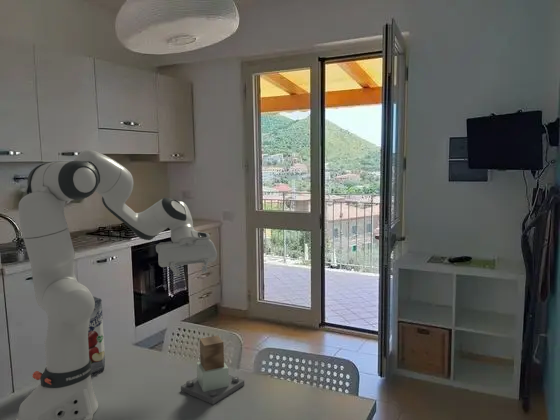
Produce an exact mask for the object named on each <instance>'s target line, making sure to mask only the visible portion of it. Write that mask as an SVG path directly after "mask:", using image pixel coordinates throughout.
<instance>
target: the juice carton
mask: <svg viewBox="0 0 560 420" xmlns="http://www.w3.org/2000/svg"><path fill="white" fill-rule="evenodd" d="M92 296H93V298H94V301H95V307H94V310H93V313H92V314H91V317H90V323H89V330H88V346H89V358H90V360H91V367H92V376H93V375H96V374H99V373H101V372H104V371H105V366H106V365H105V364H106V351H105V335H104V318H103V315H104V314H103V304H102V299H101V298H99V297H97V296H94V295H92Z"/></svg>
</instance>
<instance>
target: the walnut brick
mask: <svg viewBox="0 0 560 420" xmlns="http://www.w3.org/2000/svg"><path fill="white" fill-rule="evenodd" d="M224 351H225V350H224V341H223V340H222V339H221V337H220V336H219V335H214V336H208V337H203V338H202V337H201V338H199V357H200V359H199V360H200V361H199V362H200V363H201V365H202V366H203V368H204V370H205V371H207V370H212V369H217V368H222V367H224V362H225V354H224V353H225V352H224Z"/></svg>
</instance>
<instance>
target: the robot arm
mask: <svg viewBox="0 0 560 420" xmlns="http://www.w3.org/2000/svg"><path fill="white" fill-rule="evenodd" d="M26 184H27V185H26V186H27V189H26V195H24V196H23V197H22V198H21V199H20V200H19V202H18V218H19V226H20V230H21V234H22V237H23V241H24V245H25V249H26V252H27V256H28V259H29V263H30V267H31V275H32V282H33V283H32V284H33V289H34V293H35V295H34V296H35V299H36V302H37V304H38V306H39V307H40V308H41V309H42V310H43V311H44V312H45V313H46V316H47V330H46V331H47V332H46V337H45V340H44V352H45V366H46V367H45V368H44V370H43V372H40V371H39V370H36V371H34V372H33V373H32V375H31V376H32V379H35V380H36V381H40V383H39V384H38V385H37V387H35V388H34V390H33V391H32V392H31V393H30V394H29V395H28V396H27V397H26V398H25V399H24V400H23V401H22V402H21V403H20V405H19V408H18V412H17V418H16V419H15V420H93V419H94V417H93V416H94V414H95V412H97V411H98V408H99V402H98V399H97V397H96V394H95V391H94V388H93V387H94V386H93V381H92V377H93V375H92V367H91V360H90V358H89V346H88V330H89V323H90V317H91V314H92V313H93V310H94V307H95V301H94V298H93V296H94V295H93V294H92V292H91V291H90V289H89V288H88V287H87V286H86V285H84V284H82V283H81V282H79V281H78V278H77V276H76V273H75V256H76V255H75V250H74V249H75V248H74V246H73V241H72V238H71V234H70V233H71V232H70V230H69V226H68V222H67V219H66V216H65V207H66V203H67V202H69V201H70V202H71V201H79V200H80V201H81V200H83V199H87V198H89V197H91V196H92V195H93V194H94V193H95V192H96V193H97V194H99V195H100V196H101V202H102V205H103V206H104V207H105V209H107V210H108V211H109V213H111V214H112V215H113V216H114V217H115V218H117V219H118V220H119V221H121V222H122V223H123V224H124V225H125V226H126V227H128V228H129V229H130V231H132V233H134V234H135V236H136V237H137V238H139V239H141V240H144V241H151V240H153V239H154V238H156V237H157V236H158V235H160V233H162V232H163V231H165V230H167V229H169V230H170V239H171V241H166V242H161V241H160V242H159V243H157V244H156V245H155V252H156V253H157V254H158V261H157V262H158V266H159V267H161V268H166V267H169V268H170V270H171V271H172V272H173V273H174V277H177V276H180V274H181V272H180V268H177V266H185V265H186V266H187V265H194V264H195V265H196V264H197V265H198V264H203V266H202V267H201V271H202V274H203V273H204V274H205V273H208V265H209V263H214V262H216V260H217V258H218V252H217V249H216V246H215V243H214V242H213V241H212V240H211V239H210V236H211V235H210V233H208V232H204V231H203V232H202V231H199V230H195V228H194V221H193V217H192V213H191V211H190V209H189V207H188V205H187V204H186V203H185V202H184V201H180V200H176V199H174V198H170V197H163V198H161V199H159V200H158V201H157V202H155V203H154V204H153V205H150V207H148V208H146V209H145V210H143V211H140V212H135V211H134V210H133V209H132V207H129V206H128V204H126V202H127V201H128V200H129V198H130V197H131V194H132V193H133V189H134V177H133V175H132V173H131V171H130V170H128V169H127V168H126V167H125V166H123V165H122V164H121V163H119V162H118V161H116V160H115V159H112V158H111V157H109V156H107V155H105V154H103V153H101V152H100V151H99V152H98V151H96V150H94V149H86V150H83V151H81V152H80V153H78V154H77V156H76V157H75V158H74V160H72V161H71V160H70V161H63V160H59V161H53V162H52V161H51V162H46V163H42V164H41V163H40V164H39V165H37V166H35V167H34V168H33V169H31V171H30V172H29V174H28V176H27V182H26Z"/></svg>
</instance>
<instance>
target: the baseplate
mask: <svg viewBox="0 0 560 420" xmlns="http://www.w3.org/2000/svg"><path fill="white" fill-rule="evenodd" d="M196 376H197V377H195V378H193V379H191V380H188V381H186V383H184V384H182V385H181V386H180V391H181V392H183V393H185V394H187V395H190V396H193V397H194V398H197V399H200V400H201V401H204V402H207V403H208V404H211V405H215V404H216V403H218V402H219V401H221V400H223V399H224V398H226V397H228V396H230V395H231V394H232V393H234V392H235V391H237V390H238V389H241V388H243V386H245V379H241V378H239V376H232V375H230V373H229V367H228V365H227V363H226V362H225V361H224V367H222V368H217V369H212V370H207V371H205V370H204V368H203V366H202V365H201V363H200V361H197V362H196Z"/></svg>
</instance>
